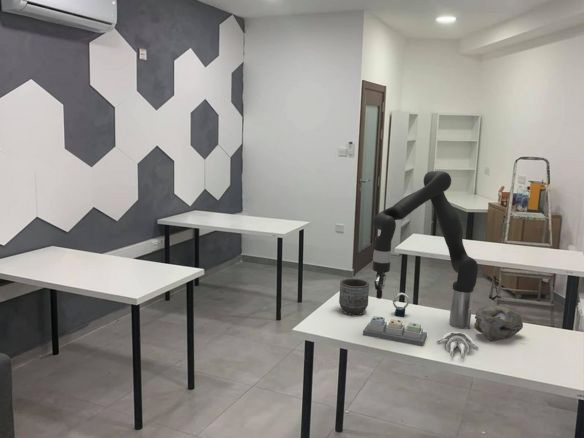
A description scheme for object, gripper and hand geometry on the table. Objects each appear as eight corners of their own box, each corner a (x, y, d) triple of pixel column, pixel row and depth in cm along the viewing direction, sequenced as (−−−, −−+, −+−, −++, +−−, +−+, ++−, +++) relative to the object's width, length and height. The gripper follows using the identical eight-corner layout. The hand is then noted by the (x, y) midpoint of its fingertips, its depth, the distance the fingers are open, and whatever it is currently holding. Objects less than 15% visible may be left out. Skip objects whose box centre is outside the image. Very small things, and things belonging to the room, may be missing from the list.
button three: (384, 325, 231) (384, 317, 230) (381, 329, 226) (382, 321, 225) (373, 323, 233) (373, 315, 232) (370, 327, 228) (370, 319, 227)
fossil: (466, 335, 230) (469, 303, 227) (496, 326, 242) (500, 296, 239) (494, 347, 218) (497, 314, 215) (524, 337, 230) (528, 305, 227)
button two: (402, 328, 228) (402, 320, 227) (399, 332, 223) (400, 324, 222) (390, 326, 230) (391, 318, 229) (388, 330, 225) (389, 322, 224)
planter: (336, 314, 250) (338, 285, 247) (340, 305, 264) (342, 276, 261) (365, 318, 247) (367, 288, 244) (368, 308, 260) (370, 279, 258)
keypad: (426, 336, 227) (427, 327, 226) (422, 346, 217) (423, 336, 216) (369, 326, 237) (369, 317, 236) (362, 335, 227) (363, 325, 226)
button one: (420, 331, 225) (421, 323, 224) (418, 335, 220) (419, 327, 219) (408, 329, 227) (409, 321, 226) (406, 333, 222) (407, 325, 221)
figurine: (478, 364, 202) (478, 341, 226) (480, 343, 201) (480, 322, 224) (434, 357, 208) (438, 335, 231) (435, 336, 206) (439, 316, 230)
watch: (392, 311, 256) (393, 290, 254) (408, 314, 254) (410, 292, 252) (390, 315, 251) (392, 294, 249) (407, 318, 249) (409, 296, 247)
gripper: (387, 264, 216) (384, 304, 220) (393, 257, 228) (390, 295, 232) (369, 262, 219) (366, 301, 222) (376, 255, 231) (374, 292, 234)
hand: (379, 298), depth 227 cm, fingers closed
